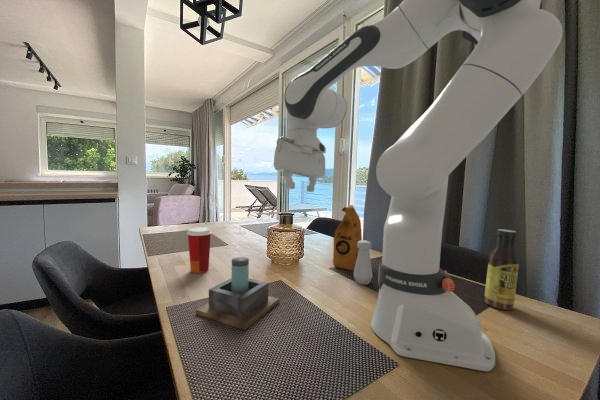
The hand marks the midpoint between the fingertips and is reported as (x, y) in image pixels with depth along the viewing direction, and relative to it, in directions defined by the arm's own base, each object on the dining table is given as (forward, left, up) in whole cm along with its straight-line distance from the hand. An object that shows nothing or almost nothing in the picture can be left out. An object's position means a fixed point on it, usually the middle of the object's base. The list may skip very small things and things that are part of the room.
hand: (301, 190), depth 76 cm
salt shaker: (-16, -12, -28) cm, 35 cm away
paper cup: (+35, +5, -28) cm, 45 cm away
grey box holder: (+7, +19, -28) cm, 35 cm away
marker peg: (+6, +19, -27) cm, 34 cm away
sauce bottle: (-51, -14, -28) cm, 60 cm away
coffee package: (-7, -26, -29) cm, 39 cm away
